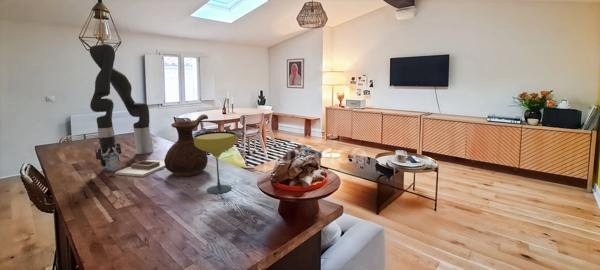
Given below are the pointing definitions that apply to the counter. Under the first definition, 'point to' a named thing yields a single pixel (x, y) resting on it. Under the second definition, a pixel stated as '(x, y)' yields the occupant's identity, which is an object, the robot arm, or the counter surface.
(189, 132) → the jug
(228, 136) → the cocktail glass
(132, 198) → the counter surface
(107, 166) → the medicine box
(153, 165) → the board
